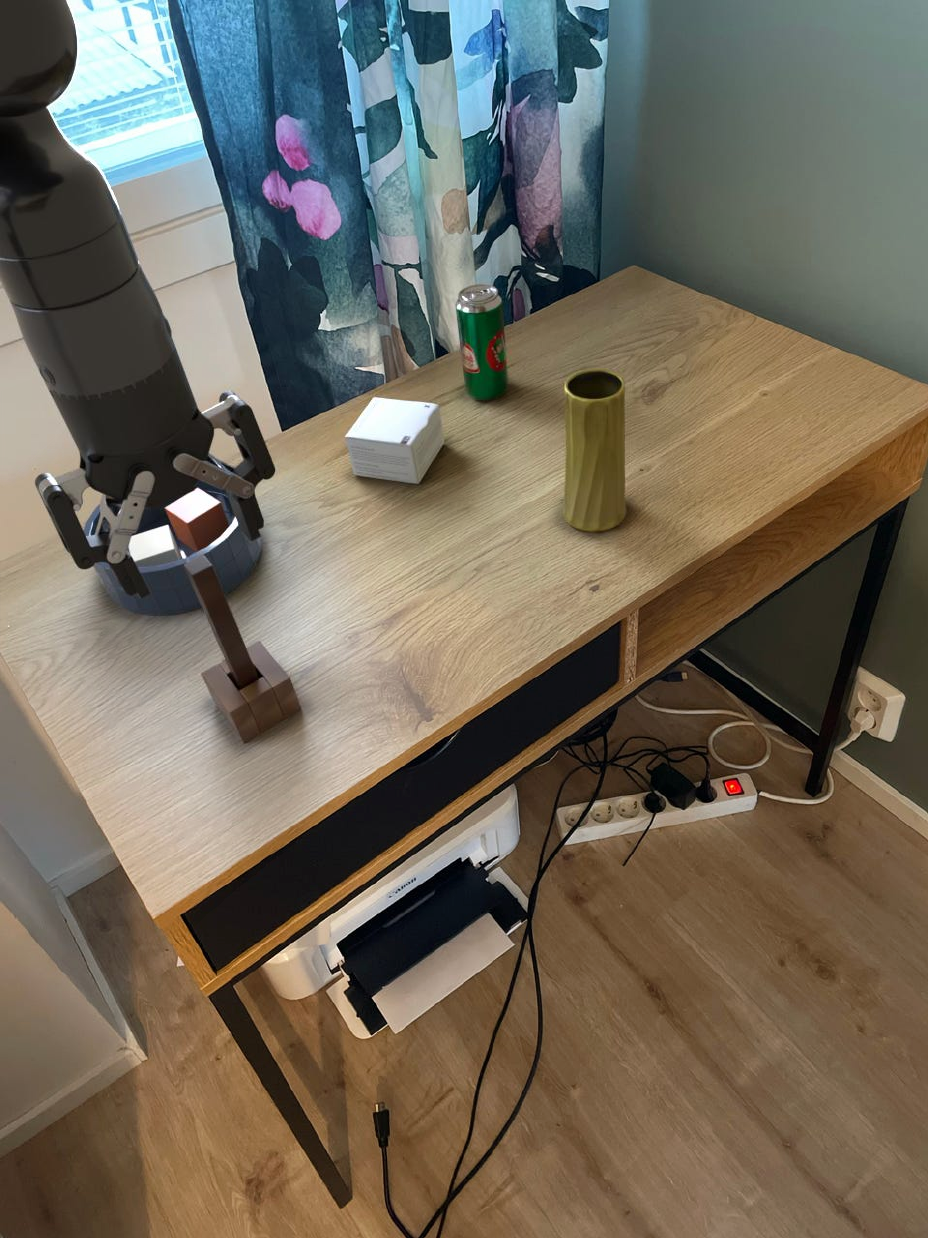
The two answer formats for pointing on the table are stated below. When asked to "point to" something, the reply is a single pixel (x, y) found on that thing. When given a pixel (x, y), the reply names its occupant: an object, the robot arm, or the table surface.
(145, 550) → the cream block
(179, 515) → the terracotta block
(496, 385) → the soda can
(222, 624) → the stirring stick
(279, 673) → the stick stand
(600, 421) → the vase
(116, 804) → the table surface
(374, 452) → the small box
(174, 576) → the bowl
